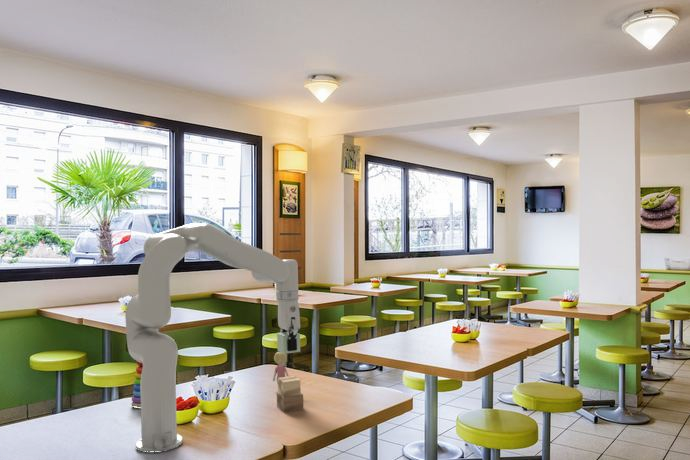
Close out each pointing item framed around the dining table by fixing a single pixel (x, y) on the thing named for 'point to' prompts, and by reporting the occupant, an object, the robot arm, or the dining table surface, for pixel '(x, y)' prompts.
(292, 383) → the tower top
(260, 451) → the dining table surface
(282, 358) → the toy
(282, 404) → the tower base
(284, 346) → the green cube
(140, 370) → the stacking toy
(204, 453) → the dining table surface
